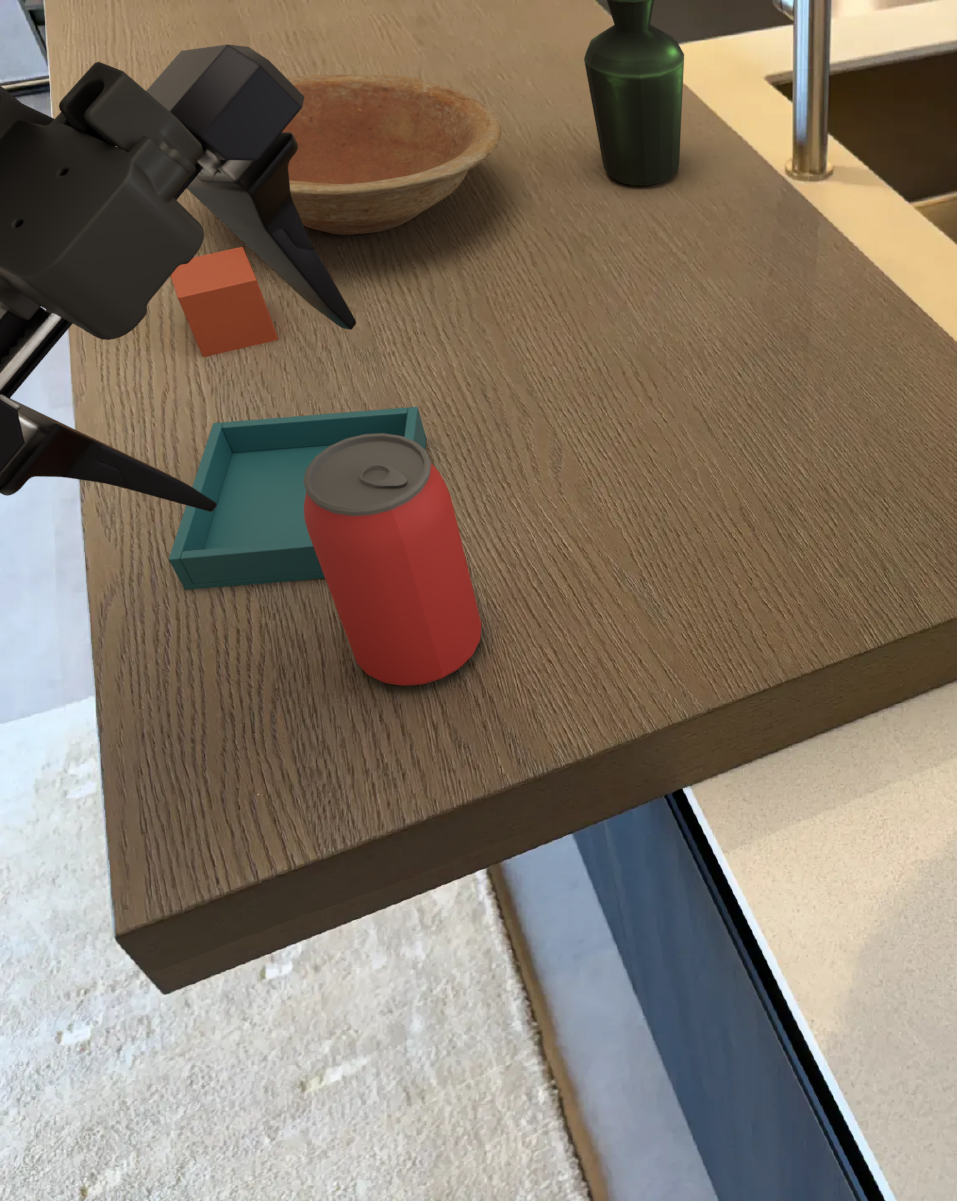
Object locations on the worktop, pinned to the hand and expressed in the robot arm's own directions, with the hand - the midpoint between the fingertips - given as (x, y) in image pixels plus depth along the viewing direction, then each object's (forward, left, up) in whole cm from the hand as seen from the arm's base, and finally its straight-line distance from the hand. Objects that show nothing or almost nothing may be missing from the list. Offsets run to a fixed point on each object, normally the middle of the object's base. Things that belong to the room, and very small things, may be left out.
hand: (282, 414), depth 46 cm
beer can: (+1, +3, -17) cm, 18 cm away
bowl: (-7, +52, -17) cm, 55 cm away
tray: (-6, +15, -17) cm, 23 cm away
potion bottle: (+16, +57, -17) cm, 61 cm away
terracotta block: (-14, +35, -17) cm, 41 cm away
